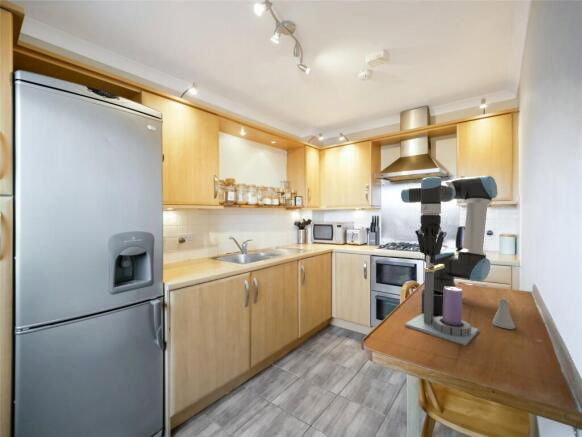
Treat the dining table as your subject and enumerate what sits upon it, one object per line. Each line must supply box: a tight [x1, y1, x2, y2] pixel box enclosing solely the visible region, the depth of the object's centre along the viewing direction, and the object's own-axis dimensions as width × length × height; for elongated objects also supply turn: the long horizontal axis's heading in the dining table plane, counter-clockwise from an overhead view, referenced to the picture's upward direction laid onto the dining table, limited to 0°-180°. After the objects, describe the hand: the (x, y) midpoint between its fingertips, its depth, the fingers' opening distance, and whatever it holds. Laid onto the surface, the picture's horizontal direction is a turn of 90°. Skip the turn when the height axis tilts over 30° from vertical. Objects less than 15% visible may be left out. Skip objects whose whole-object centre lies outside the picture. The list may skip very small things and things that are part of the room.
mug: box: [420, 289, 443, 317], centre depth 115 cm, size 9×12×9 cm
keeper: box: [423, 264, 445, 273], centre depth 106 cm, size 4×16×1 cm, turn 132°
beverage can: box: [442, 286, 464, 327], centre depth 96 cm, size 6×6×15 cm
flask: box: [491, 298, 516, 330], centre depth 103 cm, size 7×7×10 cm
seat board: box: [404, 272, 479, 346], centre depth 99 cm, size 16×20×20 cm
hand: (429, 270), depth 110 cm, fingers closed
